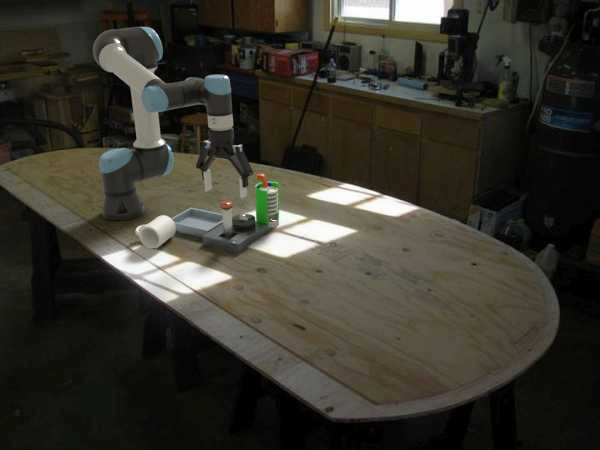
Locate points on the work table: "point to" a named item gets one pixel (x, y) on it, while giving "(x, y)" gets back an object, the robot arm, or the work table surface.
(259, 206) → the green-shelled ribbed roller
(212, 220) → the tray
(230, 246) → the grey block with dome
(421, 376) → the work table surface
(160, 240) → the mug
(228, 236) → the pin
